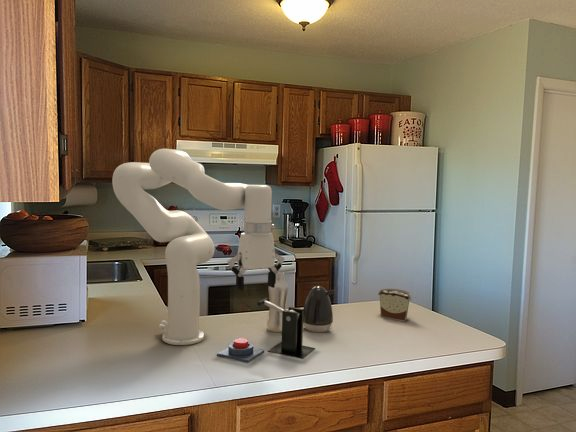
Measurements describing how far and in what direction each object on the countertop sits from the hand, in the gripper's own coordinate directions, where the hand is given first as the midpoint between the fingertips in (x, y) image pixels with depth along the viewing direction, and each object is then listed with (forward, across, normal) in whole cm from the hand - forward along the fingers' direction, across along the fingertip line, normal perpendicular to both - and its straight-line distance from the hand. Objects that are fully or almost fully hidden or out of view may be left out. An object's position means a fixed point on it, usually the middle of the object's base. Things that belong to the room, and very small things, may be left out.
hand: (255, 288), depth 136 cm
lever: (+8, -7, +2) cm, 10 cm away
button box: (+19, +5, +2) cm, 20 cm away
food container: (+19, -62, -10) cm, 66 cm away
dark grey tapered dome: (+19, -27, -8) cm, 34 cm away
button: (+16, +5, +2) cm, 17 cm away
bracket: (+19, -9, +5) cm, 22 cm away
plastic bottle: (+19, -14, -12) cm, 26 cm away
